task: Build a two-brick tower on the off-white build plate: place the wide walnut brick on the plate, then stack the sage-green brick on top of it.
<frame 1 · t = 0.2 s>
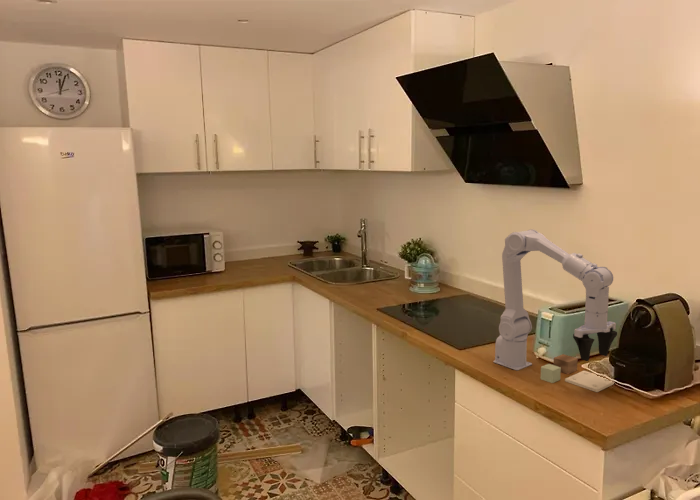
hand: (594, 357, 149), 10 cm above the worktop, tool pointing down, fingers open, 7 cm apart
build plate: (590, 382, 156), on the worktop
sage brick: (550, 379, 159), on the worktop
walnut brick: (565, 370, 166), on the worktop
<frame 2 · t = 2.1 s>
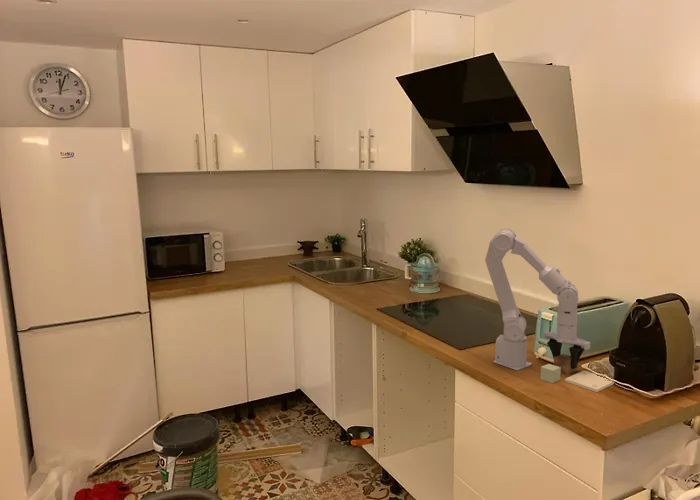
hand: (565, 365, 165), 1 cm above the worktop, tool pointing down, fingers closed on walnut brick, 5 cm apart
walnut brick: (565, 369, 166), on the worktop, touching gripper
everything else where it was.
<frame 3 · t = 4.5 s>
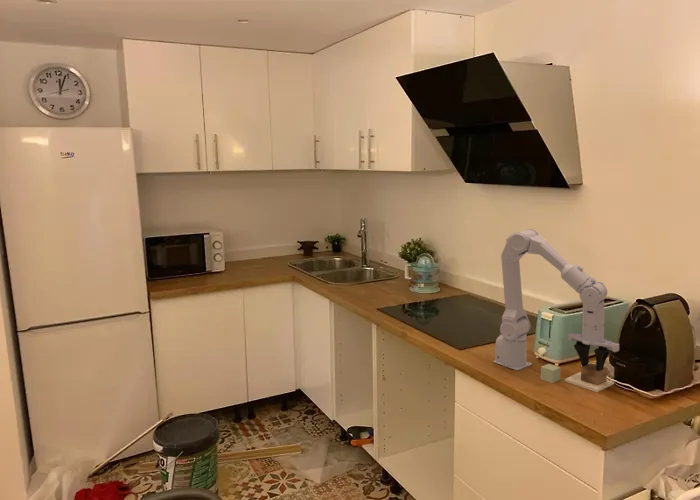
hand: (592, 369, 155), 4 cm above the worktop, tool pointing down, fingers closed on walnut brick, 4 cm apart
walnut brick: (593, 380, 155), point 1 cm above the worktop, touching build plate, gripper
everything else where it was.
when the fingers open (4 cm above the worktop, at t = 5.4 s): walnut brick stays where it is, resting on build plate.
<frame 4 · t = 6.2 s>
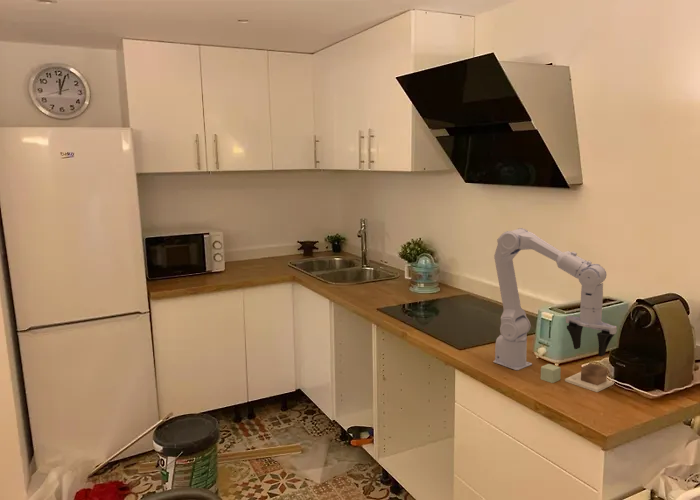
hand: (589, 351, 155), 9 cm above the worktop, tool pointing down, fingers open, 7 cm apart
walnut brick: (593, 380, 155), point 1 cm above the worktop, touching build plate
everything else where it was.
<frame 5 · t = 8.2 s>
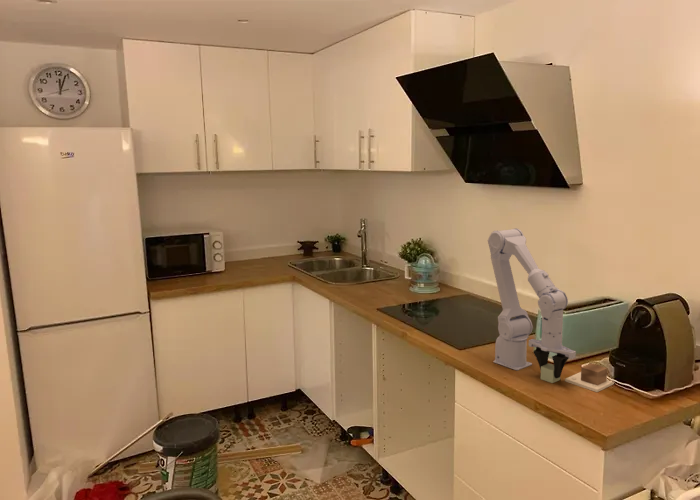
hand: (550, 374, 158), 1 cm above the worktop, tool pointing down, fingers closed on sage brick, 4 cm apart
sage brick: (550, 379, 159), on the worktop, touching gripper
everything else where it was.
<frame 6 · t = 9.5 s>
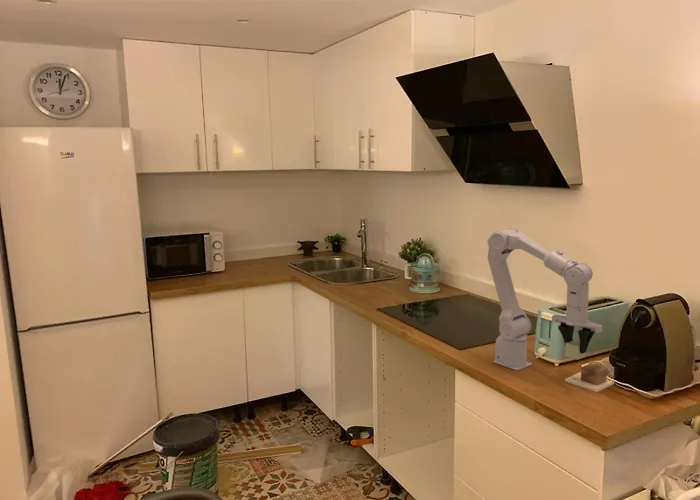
hand: (575, 350, 155), 10 cm above the worktop, tool pointing down, fingers closed on sage brick, 4 cm apart
sage brick: (575, 356, 156), point 8 cm above the worktop, touching gripper
everything else where it was.
when the fingers open (7 cm above the worktop, at t = 10.7 s): sage brick stays where it is, resting on walnut brick.
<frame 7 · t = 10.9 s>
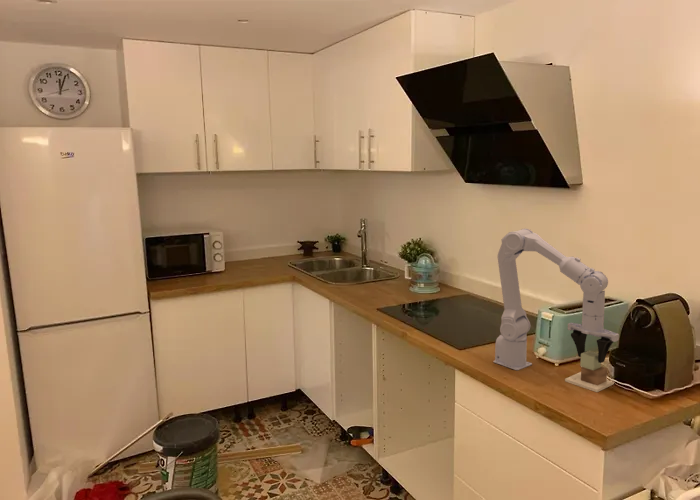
hand: (591, 358, 155), 7 cm above the worktop, tool pointing down, fingers open, 6 cm apart
sage brick: (590, 366, 155), point 5 cm above the worktop, touching walnut brick
walnut brick: (593, 380, 155), point 1 cm above the worktop, touching build plate, sage brick
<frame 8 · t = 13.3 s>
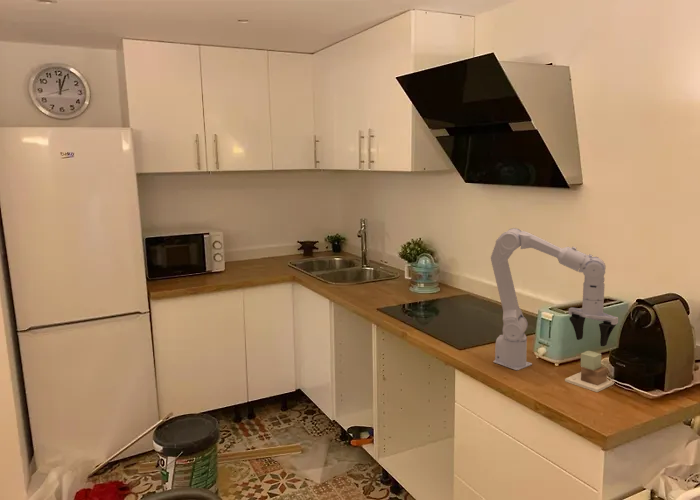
hand: (591, 342, 159), 10 cm above the worktop, tool pointing down, fingers open, 7 cm apart
nothing on the worktop moved.
at the end: walnut brick inside the target area on the build plate (1.0 cm from its centre), point 0.8 cm above the build plate's base; sage brick 1.0 cm off-centre on the walnut brick, point 4.0 cm above the walnut brick's base; sage brick tilted 0° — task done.
